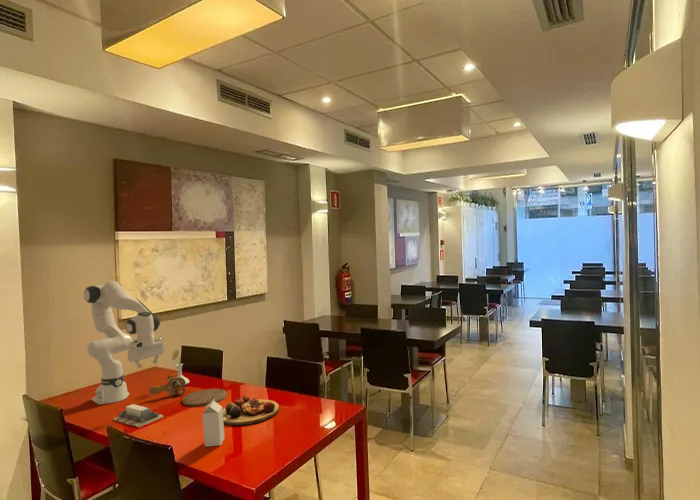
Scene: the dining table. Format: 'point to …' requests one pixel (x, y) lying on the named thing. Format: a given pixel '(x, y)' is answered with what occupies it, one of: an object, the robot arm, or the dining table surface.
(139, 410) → the white rectangular block
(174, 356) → the flower in vase
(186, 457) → the dining table surface
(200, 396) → the trivet
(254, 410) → the wooden plate with food
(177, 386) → the toy cannon
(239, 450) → the dining table surface
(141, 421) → the tray
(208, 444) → the milk carton
